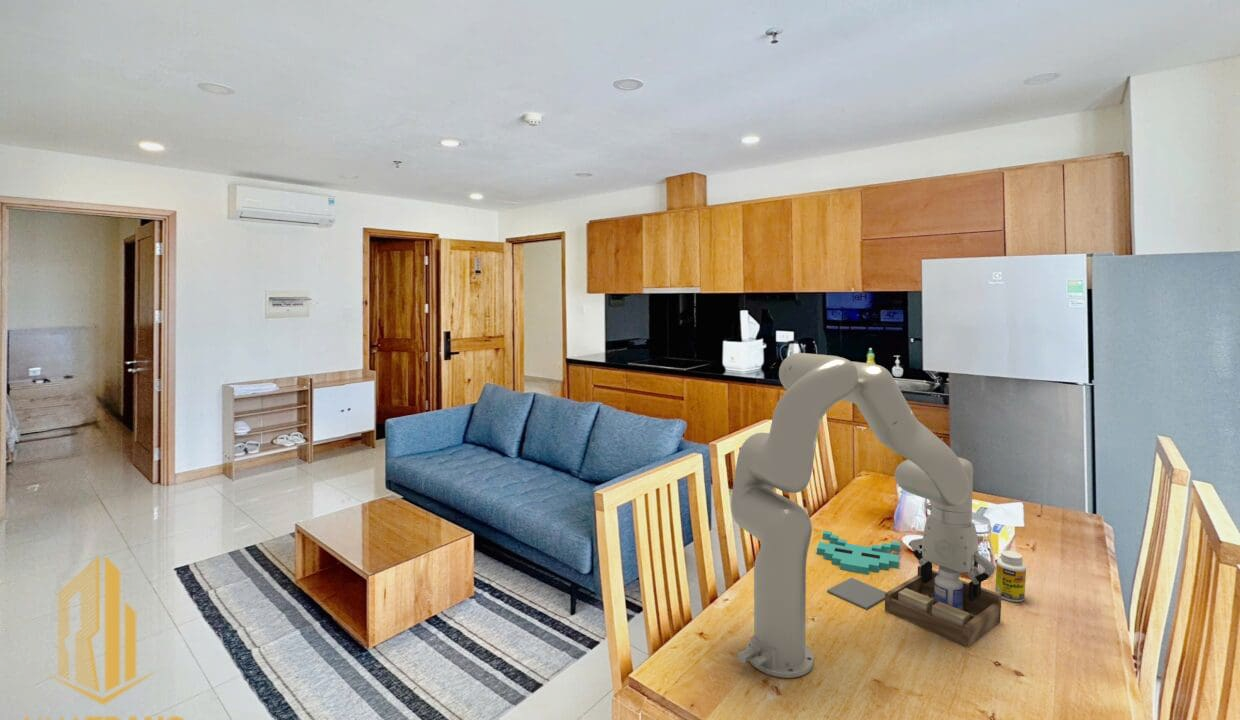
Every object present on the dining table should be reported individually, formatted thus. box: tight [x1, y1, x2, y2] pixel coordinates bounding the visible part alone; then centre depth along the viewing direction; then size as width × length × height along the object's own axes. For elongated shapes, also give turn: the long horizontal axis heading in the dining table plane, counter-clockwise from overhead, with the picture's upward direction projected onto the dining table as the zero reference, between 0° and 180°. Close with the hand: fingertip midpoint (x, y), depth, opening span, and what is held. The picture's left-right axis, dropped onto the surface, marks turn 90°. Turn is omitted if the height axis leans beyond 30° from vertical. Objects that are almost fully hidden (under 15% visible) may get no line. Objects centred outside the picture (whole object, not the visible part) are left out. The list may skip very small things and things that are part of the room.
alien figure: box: [816, 530, 901, 576], centre depth 150 cm, size 20×2×20 cm
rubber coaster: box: [826, 577, 887, 611], centre depth 131 cm, size 10×10×1 cm
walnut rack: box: [884, 565, 1002, 648], centre depth 121 cm, size 15×17×6 cm
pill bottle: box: [933, 565, 964, 611], centre depth 122 cm, size 5×5×10 cm
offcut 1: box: [898, 588, 934, 615], centre depth 121 cm, size 3×6×4 cm, turn 35°
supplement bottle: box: [994, 550, 1027, 603], centre depth 128 cm, size 6×6×10 cm
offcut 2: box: [932, 602, 970, 628], centre depth 115 cm, size 3×6×4 cm, turn 35°
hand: (949, 589), depth 122 cm, fingers open, 9 cm apart
